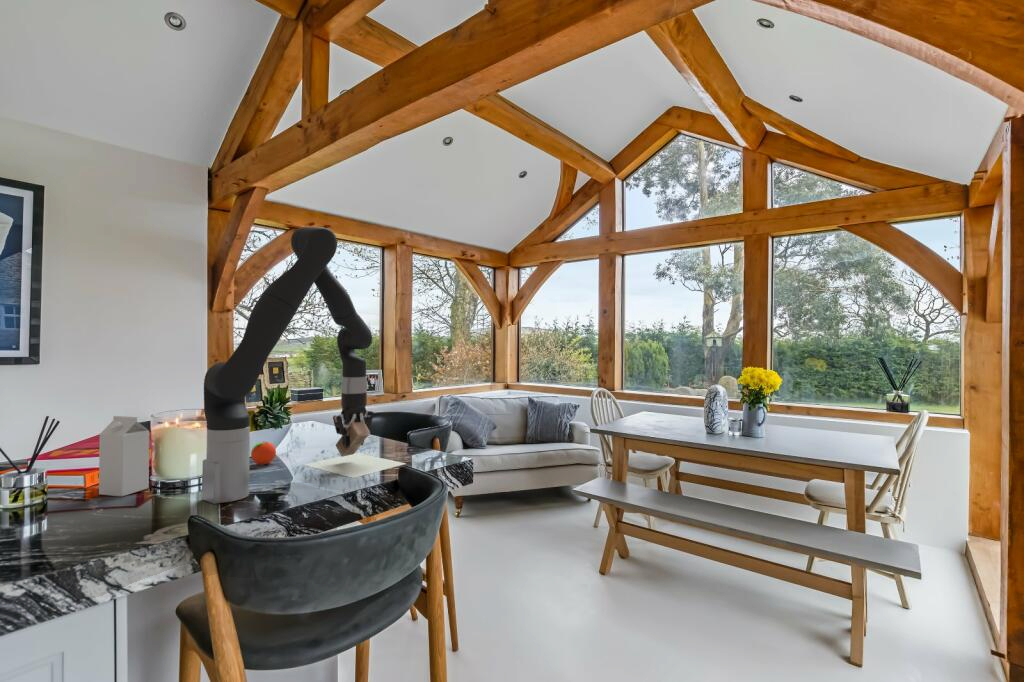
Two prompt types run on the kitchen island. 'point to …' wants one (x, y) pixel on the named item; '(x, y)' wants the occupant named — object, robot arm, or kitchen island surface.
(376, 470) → the cream flat board
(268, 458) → the clementine
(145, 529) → the kitchen island surface
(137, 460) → the milk carton
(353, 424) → the walnut block
